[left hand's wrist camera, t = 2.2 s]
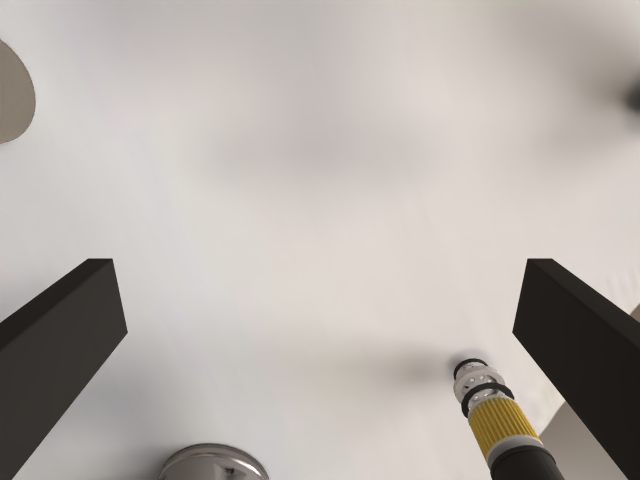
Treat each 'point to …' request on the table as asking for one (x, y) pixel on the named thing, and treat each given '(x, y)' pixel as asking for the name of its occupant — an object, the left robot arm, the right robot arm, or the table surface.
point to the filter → (501, 427)
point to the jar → (14, 95)
